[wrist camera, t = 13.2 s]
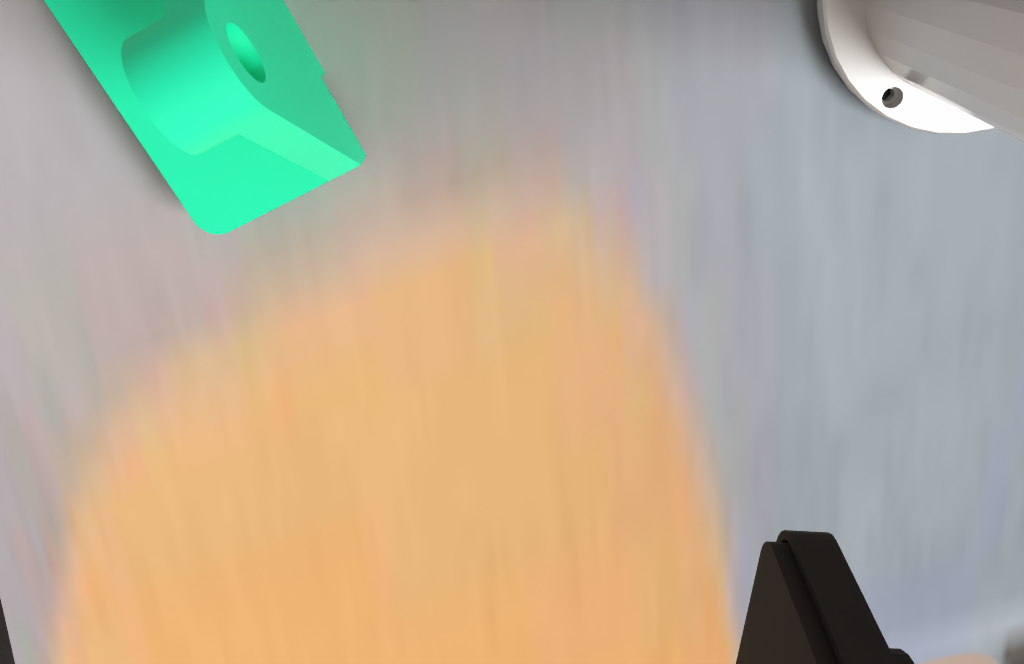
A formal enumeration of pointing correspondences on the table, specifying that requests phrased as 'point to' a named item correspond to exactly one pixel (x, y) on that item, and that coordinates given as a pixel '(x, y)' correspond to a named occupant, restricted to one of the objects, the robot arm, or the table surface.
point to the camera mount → (217, 99)
